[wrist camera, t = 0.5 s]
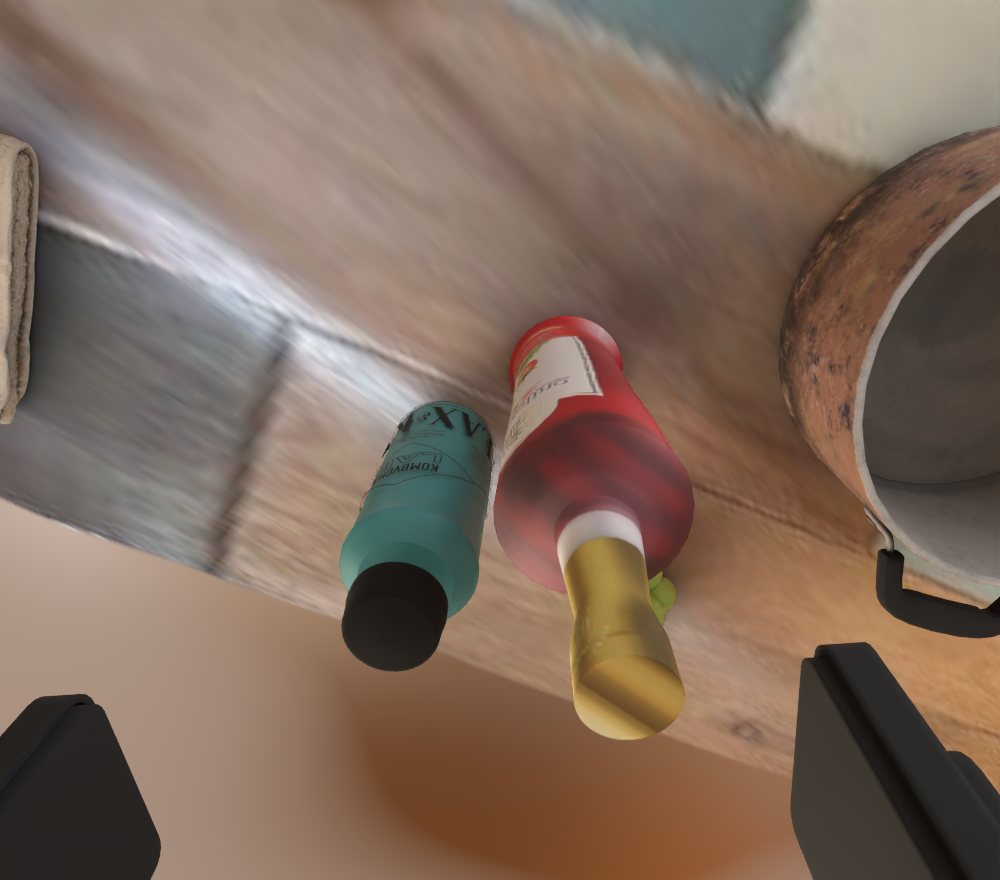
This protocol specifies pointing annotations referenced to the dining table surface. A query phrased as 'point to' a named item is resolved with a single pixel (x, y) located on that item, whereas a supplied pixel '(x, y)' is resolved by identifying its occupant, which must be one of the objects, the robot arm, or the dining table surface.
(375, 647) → the beverage bottle
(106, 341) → the dining table surface
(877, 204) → the cooking pot
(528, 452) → the liquor
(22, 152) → the washcloth
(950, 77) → the dining table surface
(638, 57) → the dining table surface
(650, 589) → the grapes
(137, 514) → the dining table surface
